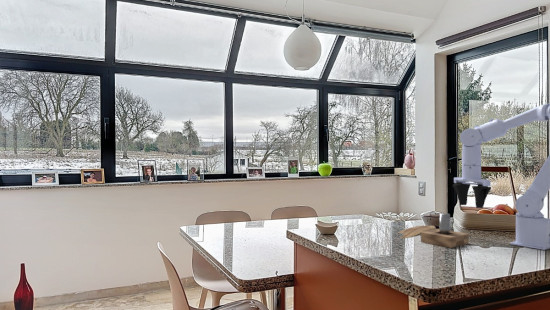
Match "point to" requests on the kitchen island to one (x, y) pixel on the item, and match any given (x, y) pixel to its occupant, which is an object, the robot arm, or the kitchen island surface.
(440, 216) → the steel peg
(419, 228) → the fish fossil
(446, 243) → the walnut hole block
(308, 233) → the kitchen island surface
